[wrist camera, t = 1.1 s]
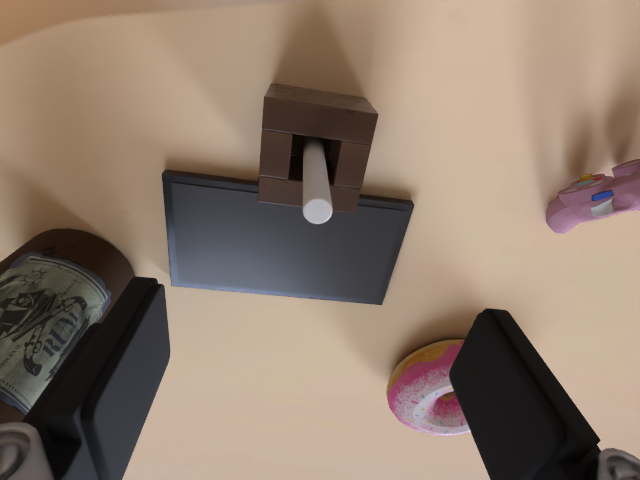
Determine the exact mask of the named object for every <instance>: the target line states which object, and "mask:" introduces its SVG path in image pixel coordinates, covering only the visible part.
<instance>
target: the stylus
mask: <svg viewBox="0 0 640 480" xmlns="http://www.w3.org/2000/svg"><path fill="white" fill-rule="evenodd" d="M332 211H333V209H332V202H331V196H330V189H329V182H328V175H327V169H326V162H325V155H324V149H323V142H322V138H320V137H313V136H305V137H304V140H303V215H304V217H305V218H306V219H307V220H308V221H309V222H311V223H314V224H321V223H324V222H326V221H327V220H328V219H329V218H330V217H331V215H332Z"/></svg>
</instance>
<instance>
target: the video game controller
mask: <svg viewBox="0 0 640 480" xmlns="http://www.w3.org/2000/svg"><path fill="white" fill-rule="evenodd" d="M612 171H613V174H614V178H615V179H614V178H613V177H611V176H605V175H604V174H597V175H593V176H592V174H585V175H582V176H581V177H580V180H577V181H575V182H573V183H571V184H570V185H571V186H569V187H568V188H566V189H564V190H562V191H560V192H559V193H558V196H557V197H556V198H555V199H554V200H553V201H552V203H551V204H550V206H549V208H548V210H547V213H546V222H547V224H548V226H549V227H550V228H551V229H552V230H553V231H554V232H556V233H558V234H563V233H566V232H568V231H569V230H571V229H572V228H573V227H574V226H576V225H577V224H579V223H583V222H588V221H593V220H597V219H601V218H606V217H609V216H612V215H616V214H619V213H622V212H627V211H639V210H640V159H636V160H633V161H629V162H626V163H623V164H620V165H618V166H616V167H613V168H612Z"/></svg>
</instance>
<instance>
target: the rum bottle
mask: <svg viewBox="0 0 640 480" xmlns="http://www.w3.org/2000/svg"><path fill="white" fill-rule="evenodd" d="M133 277H135V275H134V272H133V269H132V267H131V265H130V264H129V262H128V261H127V259H126V258H125V257H124V256H123V255H122V253H121V252H120V251H118V250H117V249H116V248H115V247H114V246H112V245H111V244H109V243H108V242H106V241H105V240H103V239H101V238H99V237H97V236H94V235H92V234H89V233H86V232H83V231H78V230H72V229H55V230H49V231H46V232H43V233H41V234H39V235H37V236H35V237H34V238H32V239H31V240H29V241H28V242H27V243H25V244H24V245H23V246H21V247H20V248H19V249H17V250H16V251H15V252H13V253H12V254H11V255H9V256H8V257H7V258H5V259H4V260H3V261H1V262H0V424H4V423H11V422H22V420H23V419H24V417H25V416H26V414H27V413H28V412H29V410H30V409H31V407H32V406H33V405H34V403H35V402H36V400H37V399H38V397H39V396H40V395H41V393H42V392H43V390H44V389H45V388H46V386H47V385H48V383H49V382H50V381H51V379H52V378H53V376H54V375H55V373H56V372H57V371H58V369H59V368H60V366H61V365H62V364H63V362H64V361H65V359H66V358H67V356H68V355H69V354H70V352H71V351H72V349H73V348H74V347H75V345H76V344H77V342H78V341H79V339H80V338H81V337H82V335H83V334H84V332H85V331H86V330H87V328H88V327H89V326H90V325H91V324H93V323H102V322H103V320H104V319H105V317H106V316H107V314H108V313H109V311H110V310H111V308H112V307H113V305H114V304H115V303H116V301H117V300H118V298H119V297H120V295H121V294H122V292H123V291H124V289H125V288H126V286H127V285H128V283H129V282H130V280H131V279H132V278H133Z"/></svg>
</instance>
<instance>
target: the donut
mask: <svg viewBox="0 0 640 480" xmlns="http://www.w3.org/2000/svg"><path fill="white" fill-rule="evenodd" d="M464 341H465V340H445V341H439V342H435V343H432V344H429V345H427V346H425V347H422V348H420V349H418V350H416V351H415V352H413V353H412V354H410V355H409V356H407V357H406V358H405V359H404V360H403V361H401V362H400V363H399V364H398V365H397V367H396V368H395V369H394V371H393V372H392V374H391V377H390V379H389V382H388V386H387V399H388V404H389V407H390V409H391V411H392V412H393V413H394V415H395V416H396V417H397V418H398V420H399V421H400V422H402V423H403V424H405V425H406V426H408V427H410V428H412V429H415V430H417V431H419V432H422V433H426V434H430V435H438V436H451V435H459V434H464V433H468V432H471V431H470V429H469V426H468V424H467V421H466V419H465V416H464V414H463V412H462V409H461V407H460V404H459V402H458V399H457V397H456V395H455V392H454V390H453V387H452V385H451V383H450V379H449V371H450V368H451V366H452V364H453V362H454V360H455V358H456V356H457V355H458V353H459V351H460V349H461V347H462V345H463V343H464Z"/></svg>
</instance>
